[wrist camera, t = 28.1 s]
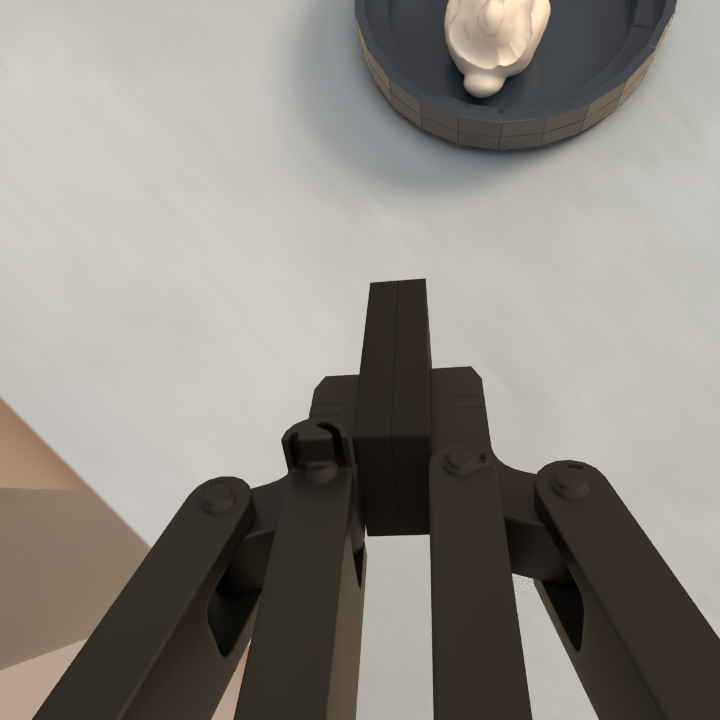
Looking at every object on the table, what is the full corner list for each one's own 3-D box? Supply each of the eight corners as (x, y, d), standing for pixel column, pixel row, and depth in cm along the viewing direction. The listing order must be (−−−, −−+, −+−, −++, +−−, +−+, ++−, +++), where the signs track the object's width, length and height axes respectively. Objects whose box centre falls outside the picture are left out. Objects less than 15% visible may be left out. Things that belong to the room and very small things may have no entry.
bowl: (367, 168, 44) (358, 136, 40) (359, -81, 48) (350, -132, 44) (677, 140, 42) (700, 103, 38) (642, -120, 46) (659, -178, 42)
